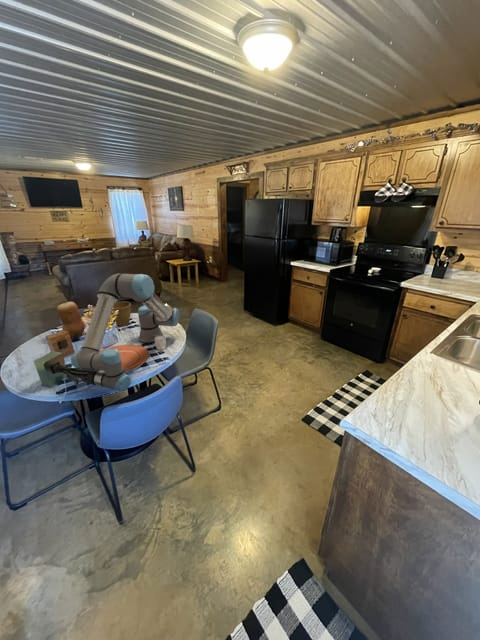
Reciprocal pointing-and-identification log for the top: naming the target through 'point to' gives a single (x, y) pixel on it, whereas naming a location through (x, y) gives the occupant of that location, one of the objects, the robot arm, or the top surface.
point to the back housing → (56, 338)
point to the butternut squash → (71, 319)
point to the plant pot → (123, 313)
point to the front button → (56, 368)
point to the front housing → (45, 366)
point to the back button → (63, 344)
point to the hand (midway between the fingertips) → (61, 369)
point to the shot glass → (160, 342)
